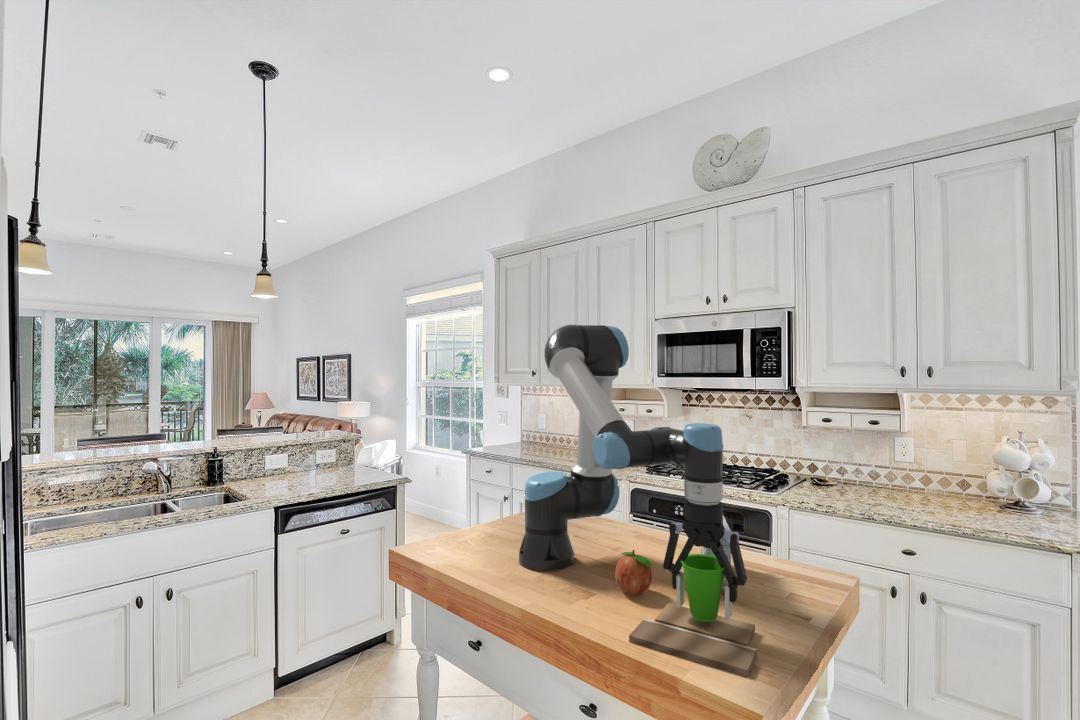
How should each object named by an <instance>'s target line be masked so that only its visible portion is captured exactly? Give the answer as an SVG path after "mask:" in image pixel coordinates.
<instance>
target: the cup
mask: <svg viewBox="0 0 1080 720" xmlns="http://www.w3.org/2000/svg"><path fill="white" fill-rule="evenodd" d="M681 563H682V564H683V566H682V567H683V568H682V569H683V572H684V583H685V587H686V593H687V599H688V605H689V608H690V612H691V614H692V617H693V618H695V619H697V620H700V621H705V622H710V621H714V620H715V619H716V617H717V616H719V615H718V614H719V607H720V601H721V596H722V595H721V591H722V584H723V578H724V573H723V571H722V570H724V568H722V569H721V567H720V565H719V563H718V561H717V558H716V557H715V556H711V555H705V554H701V553H691V554H689V555H688V557H687V558H686V559H685V560H684V561H683V560H681Z"/></svg>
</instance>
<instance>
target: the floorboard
mask: <svg viewBox="0 0 1080 720" xmlns="http://www.w3.org/2000/svg"><path fill="white" fill-rule="evenodd" d="M628 642H630V643H633V644H635V645H636V644H637V645H639V646H642V647H646V648H648V649H653V650H656V651H659V652H662V653H665V654H666V653H667V654H669V655H673V656H676V657H679V658H682V659H687V660H689V661H692V662H695V663H699V664H702V665H706V666H710V667H712V668H716V669H719V670H722V671H726V672H729V673H733V674H736V675H739V676H743V677H746V678H749V675H750V673H751V670H752V668H753V666H754V663H755V661H756V658H757V656H758V650H757V648H754V647H752V646H749V645H748V646H744V645H740V644H737V643H733V642H729V641H726V640H722V639H718V638H715V637H711V636H707V635H704V634H700V633H696V632H693V631H689V630H685V629H681V628H678V627H674V626H670V625H667V624H663V623H659V622H656V621H655V620H652V619H647V618H643V619H642V621H641V622H640V623H639V624H638V625H637V626H636V627H635V629H633V631H632V632H631V633H629V635H628Z"/></svg>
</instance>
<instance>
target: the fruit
mask: <svg viewBox="0 0 1080 720" xmlns="http://www.w3.org/2000/svg"><path fill="white" fill-rule="evenodd" d="M620 555H623V556H622V557H621V558H620V559H619V560H618V562H617V564H616V566H615V571H614V572H615V573H614V576H615V580H616V584H617V585H618V587H619V588H620V590H621V591H623V592H624V593H625V594H627V595H630V596H640V595H643V594H644V593H646V592H647V591H648V589H649V588H650V586H651V584H652V581H653V571H652V565H653V564H652V562H651V561H650V559H649V558H647V557H645V556H642V555H640V554H636V553H635V549H632V552H631V551H624V552H622V553H620Z"/></svg>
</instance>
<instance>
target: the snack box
mask: <svg viewBox="0 0 1080 720" xmlns="http://www.w3.org/2000/svg"><path fill="white" fill-rule="evenodd" d="M723 526H724V528H725V530H727V531H731V528H730V527H729V524H728V523H727V520H726V517H725V516H724V514H723ZM731 532H732V531H731ZM720 542H721V544H722V546H723V550H724V552H725V554H726V556H727V558H728V560H729V562H730V564H731V565H732V554H731V550H730V543H728V542H727V538H726V537H725V536H723V537H722V538H721V540H720ZM700 554H705V555H711V556H715V554H713V552H712V550H711V548H710V549H709V548H705V547H703V546H700ZM715 557H716V556H715ZM726 584H727V579H726V577H725V575H724V578H723V584H722V591H721V596H725V585H726Z"/></svg>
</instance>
